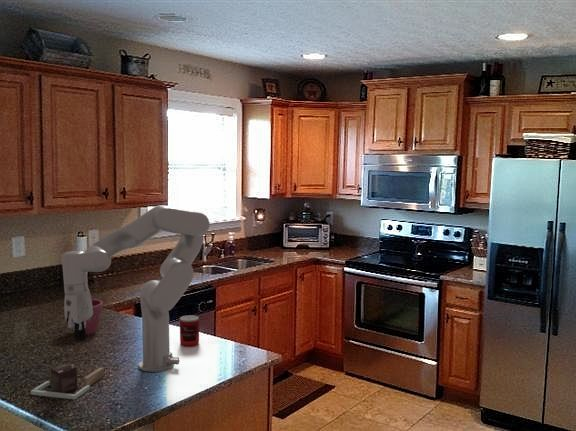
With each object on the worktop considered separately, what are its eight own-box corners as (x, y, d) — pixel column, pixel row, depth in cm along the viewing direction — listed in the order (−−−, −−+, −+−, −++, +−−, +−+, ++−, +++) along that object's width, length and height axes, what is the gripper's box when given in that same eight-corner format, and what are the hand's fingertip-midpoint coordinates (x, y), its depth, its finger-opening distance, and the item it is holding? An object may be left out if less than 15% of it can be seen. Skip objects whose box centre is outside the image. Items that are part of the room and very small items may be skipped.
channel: (104, 375, 199) (103, 367, 199) (87, 387, 189) (87, 378, 189) (71, 372, 202) (70, 364, 201) (53, 383, 192) (53, 374, 192)
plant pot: (61, 334, 244) (60, 305, 243) (84, 325, 257) (83, 297, 256) (88, 338, 239) (87, 308, 238) (110, 329, 252) (109, 300, 251)
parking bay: (90, 388, 188) (90, 385, 188) (74, 399, 180) (74, 395, 179) (47, 384, 191) (47, 380, 191) (30, 394, 183) (30, 390, 183)
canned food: (191, 339, 239) (191, 313, 237) (203, 344, 233) (202, 317, 232) (176, 343, 233) (175, 317, 232) (187, 348, 228) (187, 321, 226)
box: (68, 384, 192) (67, 363, 191) (77, 389, 188) (77, 367, 187) (51, 389, 187) (50, 368, 186) (60, 394, 183) (59, 372, 182)
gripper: (73, 293, 184) (77, 348, 186) (98, 282, 199) (102, 333, 201) (52, 293, 186) (57, 347, 188) (79, 282, 200) (83, 332, 203)
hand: (80, 340), depth 194 cm, fingers closed
